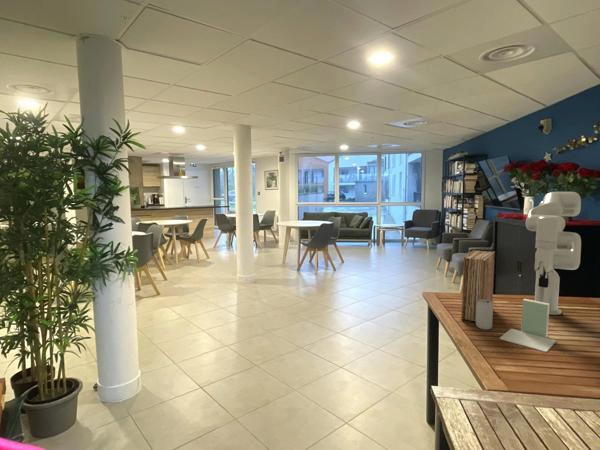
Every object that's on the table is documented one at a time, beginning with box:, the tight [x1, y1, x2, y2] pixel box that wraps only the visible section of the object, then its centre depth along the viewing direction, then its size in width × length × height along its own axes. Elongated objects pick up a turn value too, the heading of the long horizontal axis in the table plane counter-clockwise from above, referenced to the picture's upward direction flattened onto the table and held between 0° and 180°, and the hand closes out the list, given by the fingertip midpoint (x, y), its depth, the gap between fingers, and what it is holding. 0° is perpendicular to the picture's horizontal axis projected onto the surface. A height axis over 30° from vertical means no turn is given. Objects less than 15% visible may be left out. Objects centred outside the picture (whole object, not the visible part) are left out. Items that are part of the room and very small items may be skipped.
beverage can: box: [475, 299, 494, 331], centre depth 151 cm, size 6×6×12 cm
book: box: [460, 248, 496, 323], centre depth 167 cm, size 25×9×30 cm, turn 143°
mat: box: [499, 328, 557, 353], centre depth 139 cm, size 14×16×1 cm
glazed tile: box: [520, 298, 550, 338], centre depth 144 cm, size 2×9×14 cm, turn 42°
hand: (543, 286), depth 150 cm, fingers closed
